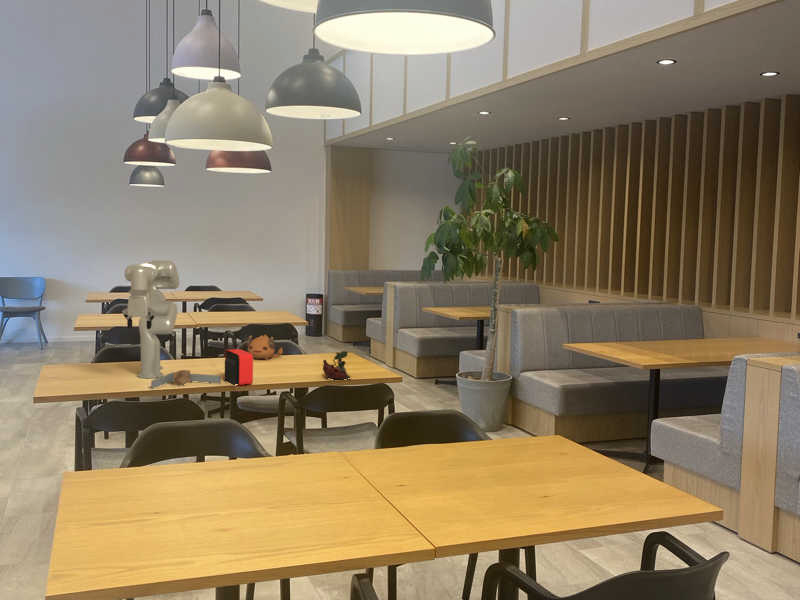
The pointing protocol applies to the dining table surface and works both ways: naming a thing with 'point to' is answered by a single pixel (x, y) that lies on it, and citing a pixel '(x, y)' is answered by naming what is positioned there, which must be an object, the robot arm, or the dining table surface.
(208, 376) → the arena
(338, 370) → the multicoloured piece
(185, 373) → the walnut block
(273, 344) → the toy
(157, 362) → the robot arm
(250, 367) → the red black block
